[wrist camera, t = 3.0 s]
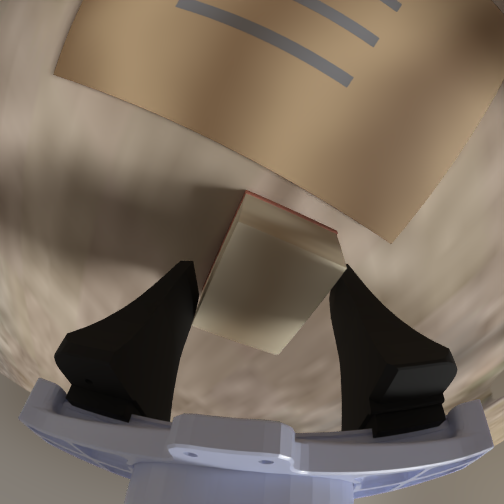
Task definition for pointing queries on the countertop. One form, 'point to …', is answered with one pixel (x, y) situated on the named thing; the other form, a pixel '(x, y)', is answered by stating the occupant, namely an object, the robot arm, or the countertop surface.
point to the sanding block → (268, 275)
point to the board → (307, 86)
